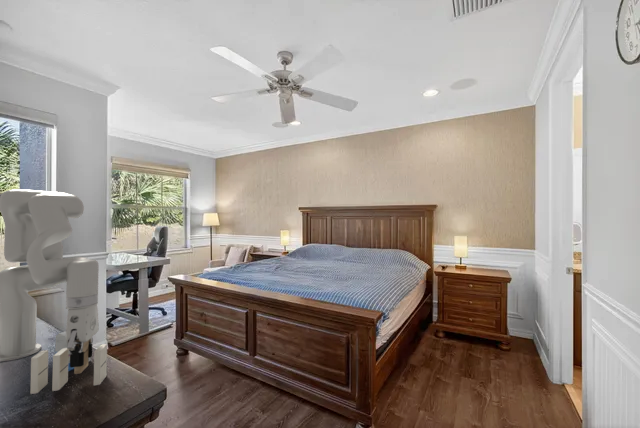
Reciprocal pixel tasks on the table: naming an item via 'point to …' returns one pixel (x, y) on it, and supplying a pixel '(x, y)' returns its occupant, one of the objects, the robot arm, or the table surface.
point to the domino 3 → (85, 350)
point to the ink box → (63, 346)
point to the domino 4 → (100, 364)
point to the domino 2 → (60, 369)
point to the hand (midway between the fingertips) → (81, 361)
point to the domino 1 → (39, 371)
